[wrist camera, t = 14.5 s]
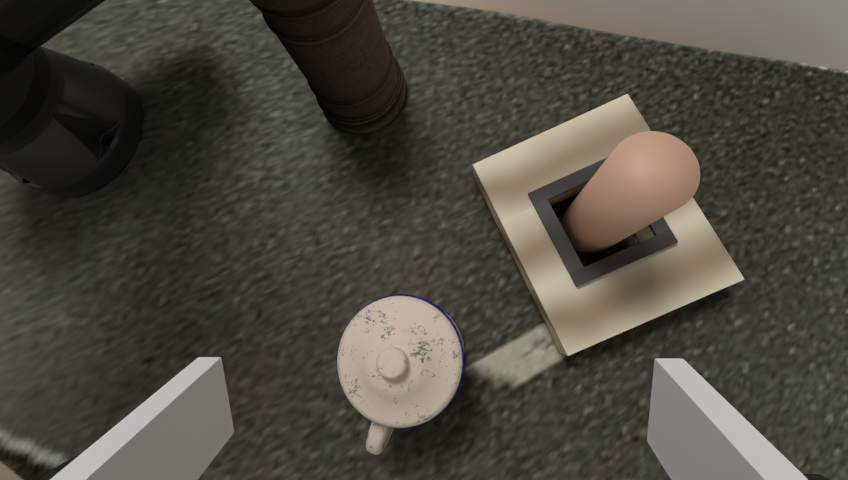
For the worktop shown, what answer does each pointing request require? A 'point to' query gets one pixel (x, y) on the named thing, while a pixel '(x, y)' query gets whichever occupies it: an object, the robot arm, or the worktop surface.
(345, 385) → the teacup with lid
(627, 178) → the peg
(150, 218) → the worktop surface
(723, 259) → the band board
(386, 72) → the container
